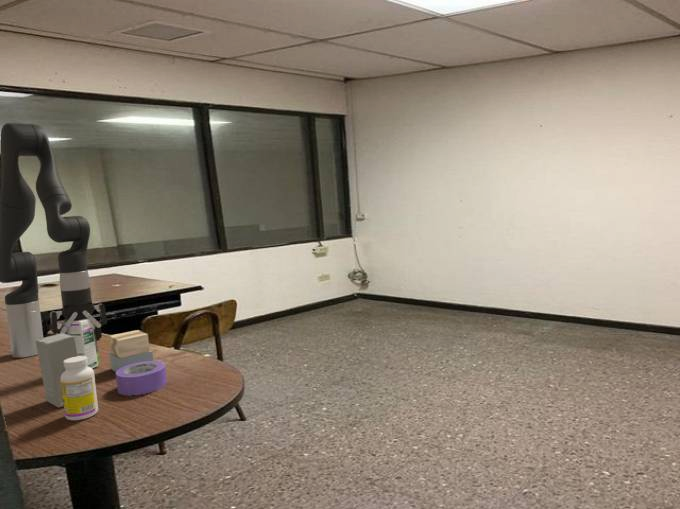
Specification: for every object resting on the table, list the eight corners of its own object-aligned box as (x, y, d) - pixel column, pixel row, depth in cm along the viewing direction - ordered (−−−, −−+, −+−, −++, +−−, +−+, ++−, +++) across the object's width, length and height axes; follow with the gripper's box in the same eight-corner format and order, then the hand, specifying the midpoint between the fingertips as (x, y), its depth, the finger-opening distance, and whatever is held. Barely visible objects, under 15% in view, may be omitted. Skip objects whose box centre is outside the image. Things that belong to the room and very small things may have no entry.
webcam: (45, 342, 182) (42, 314, 181) (28, 342, 184) (25, 314, 183) (62, 336, 190) (59, 309, 189) (45, 336, 192) (42, 310, 190)
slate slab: (111, 369, 147) (109, 352, 146) (143, 362, 152) (141, 345, 152) (121, 377, 140) (119, 359, 139) (154, 368, 145) (152, 351, 145)
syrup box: (86, 372, 144) (81, 321, 143) (68, 371, 145) (62, 321, 144) (100, 365, 150) (95, 316, 148) (82, 364, 151) (77, 316, 149)
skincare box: (86, 400, 123) (79, 335, 121) (53, 410, 118) (45, 342, 116) (73, 392, 129) (66, 330, 127) (41, 401, 124) (34, 337, 122)
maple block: (111, 352, 146) (109, 335, 145) (139, 346, 151) (138, 329, 150) (120, 358, 140) (118, 340, 139) (149, 351, 145) (147, 334, 144)
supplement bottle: (73, 410, 117) (66, 355, 116) (103, 407, 118) (97, 353, 116) (59, 423, 110) (52, 365, 109) (91, 420, 111) (84, 362, 110)
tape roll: (147, 397, 123) (145, 377, 122) (107, 394, 126) (104, 375, 126) (176, 380, 134) (174, 361, 134) (139, 378, 138) (137, 360, 137)
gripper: (98, 282, 152) (104, 335, 154) (44, 289, 143) (51, 346, 145) (106, 284, 146) (111, 340, 148) (49, 292, 138) (56, 351, 139)
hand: (81, 343), depth 147 cm, fingers closed on syrup box, 8 cm apart
